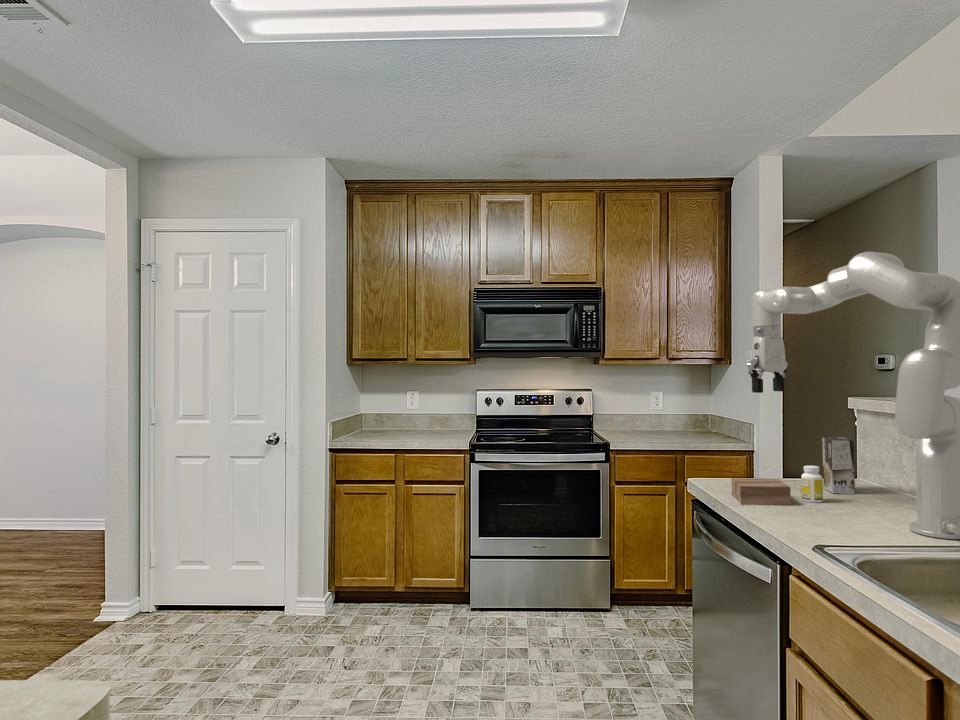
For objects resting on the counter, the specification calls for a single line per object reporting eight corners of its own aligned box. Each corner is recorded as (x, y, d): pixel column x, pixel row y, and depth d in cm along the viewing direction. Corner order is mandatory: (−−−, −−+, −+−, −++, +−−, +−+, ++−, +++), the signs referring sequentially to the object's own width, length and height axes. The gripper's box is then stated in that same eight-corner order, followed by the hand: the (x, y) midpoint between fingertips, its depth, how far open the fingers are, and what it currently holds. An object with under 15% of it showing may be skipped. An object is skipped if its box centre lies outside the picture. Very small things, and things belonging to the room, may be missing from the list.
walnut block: (790, 505, 181) (790, 487, 181) (741, 504, 183) (740, 486, 183) (778, 495, 194) (777, 478, 194) (731, 494, 196) (731, 478, 196)
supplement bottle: (823, 499, 187) (822, 465, 187) (822, 503, 182) (822, 468, 182) (802, 498, 190) (801, 464, 190) (801, 502, 185) (800, 467, 185)
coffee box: (856, 494, 194) (854, 439, 194) (832, 494, 195) (831, 439, 195) (845, 488, 203) (844, 436, 203) (822, 488, 204) (821, 436, 204)
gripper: (759, 332, 182) (760, 393, 182) (797, 332, 191) (798, 391, 191) (736, 333, 188) (737, 392, 188) (774, 333, 197) (775, 390, 197)
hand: (768, 391), depth 190 cm, fingers open, 9 cm apart
